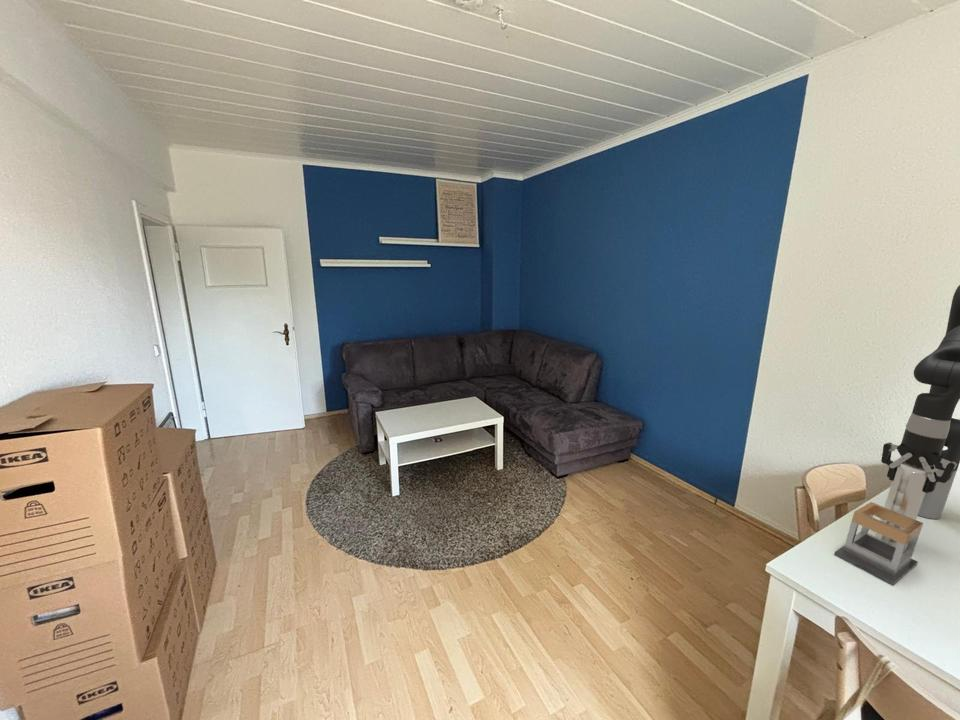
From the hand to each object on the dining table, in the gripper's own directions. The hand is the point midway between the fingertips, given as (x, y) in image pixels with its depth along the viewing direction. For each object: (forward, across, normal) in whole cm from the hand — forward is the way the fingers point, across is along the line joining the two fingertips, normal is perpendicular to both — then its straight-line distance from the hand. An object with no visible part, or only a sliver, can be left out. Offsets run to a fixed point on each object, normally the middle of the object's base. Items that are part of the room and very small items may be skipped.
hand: (908, 485), depth 110 cm
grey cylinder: (+19, 0, 0) cm, 19 cm away
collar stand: (+19, -1, +14) cm, 23 cm away
